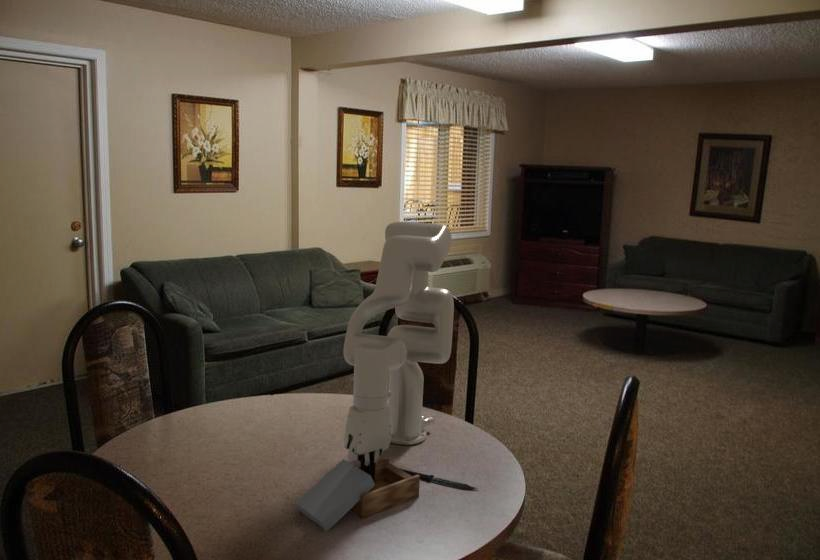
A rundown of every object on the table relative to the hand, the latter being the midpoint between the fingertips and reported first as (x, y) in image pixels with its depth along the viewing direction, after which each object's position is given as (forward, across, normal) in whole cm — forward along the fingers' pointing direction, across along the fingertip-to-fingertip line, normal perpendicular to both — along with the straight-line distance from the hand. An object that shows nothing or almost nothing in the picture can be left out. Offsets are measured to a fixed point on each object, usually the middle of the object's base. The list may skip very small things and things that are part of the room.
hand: (367, 478), depth 144 cm
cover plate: (+2, +8, 0) cm, 8 cm away
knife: (+6, -19, +3) cm, 20 cm away
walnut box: (+5, -2, 0) cm, 6 cm away
